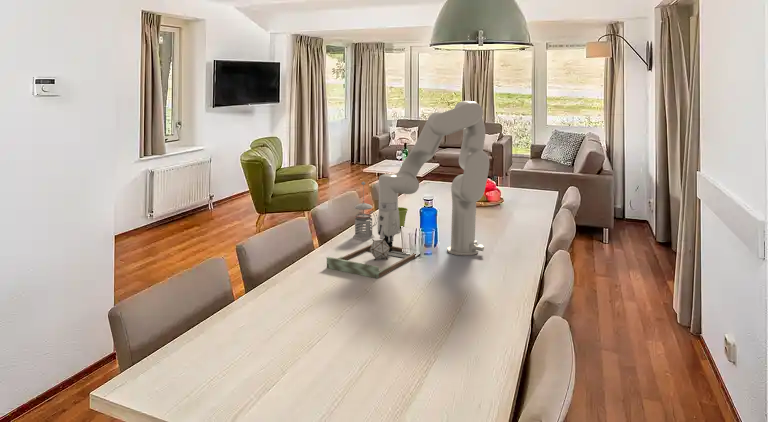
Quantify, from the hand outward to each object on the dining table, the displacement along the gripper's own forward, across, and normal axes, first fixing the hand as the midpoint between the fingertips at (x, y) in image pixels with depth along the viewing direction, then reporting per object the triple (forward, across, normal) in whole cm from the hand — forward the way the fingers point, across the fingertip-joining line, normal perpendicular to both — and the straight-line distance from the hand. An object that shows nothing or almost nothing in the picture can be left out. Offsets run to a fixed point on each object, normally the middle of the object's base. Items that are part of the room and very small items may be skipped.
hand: (388, 250), depth 212 cm
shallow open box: (+2, -9, 0) cm, 9 cm away
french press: (+2, +18, +22) cm, 29 cm away
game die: (+2, -6, 0) cm, 7 cm away
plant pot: (+2, +42, +20) cm, 46 cm away
